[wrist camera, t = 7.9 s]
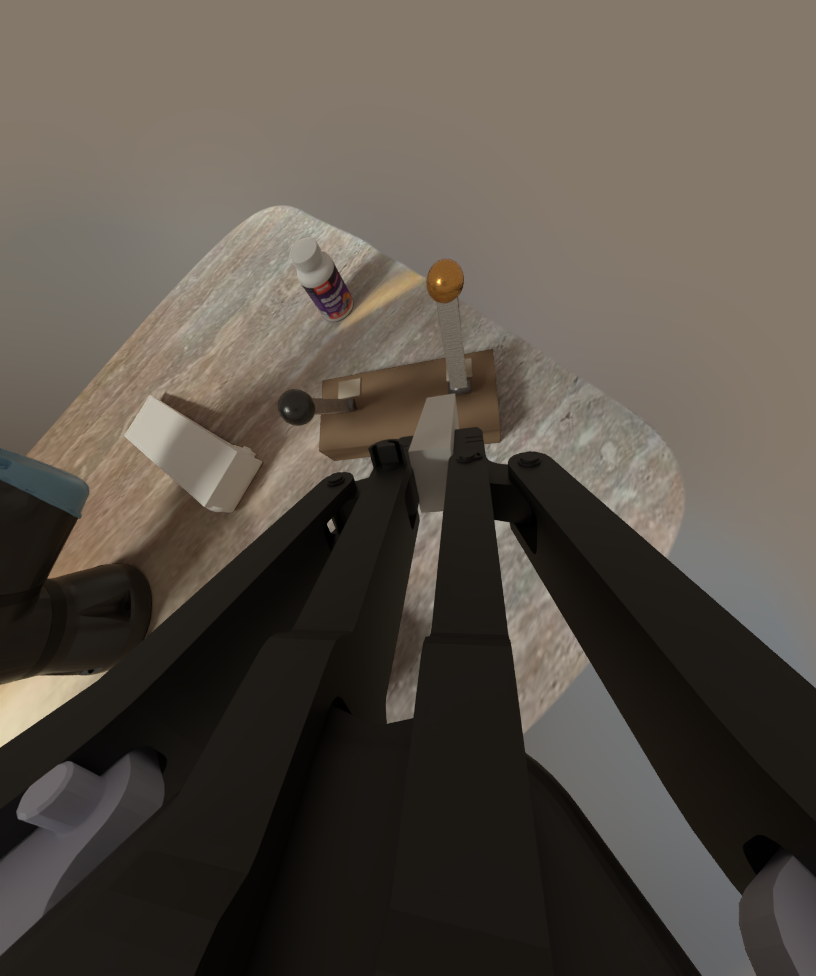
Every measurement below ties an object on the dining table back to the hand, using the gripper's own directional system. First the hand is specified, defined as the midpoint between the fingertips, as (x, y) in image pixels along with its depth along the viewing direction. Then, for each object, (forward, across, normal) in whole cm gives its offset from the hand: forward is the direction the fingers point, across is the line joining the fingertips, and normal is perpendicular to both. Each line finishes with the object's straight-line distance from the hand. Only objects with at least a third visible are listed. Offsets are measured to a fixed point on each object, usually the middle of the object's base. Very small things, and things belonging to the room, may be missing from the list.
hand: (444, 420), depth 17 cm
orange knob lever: (+19, 0, -3) cm, 19 cm away
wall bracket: (+24, -43, -8) cm, 50 cm away
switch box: (+23, -7, -7) cm, 25 cm away
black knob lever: (+19, -14, -3) cm, 24 cm away
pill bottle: (+38, -18, +7) cm, 42 cm away
